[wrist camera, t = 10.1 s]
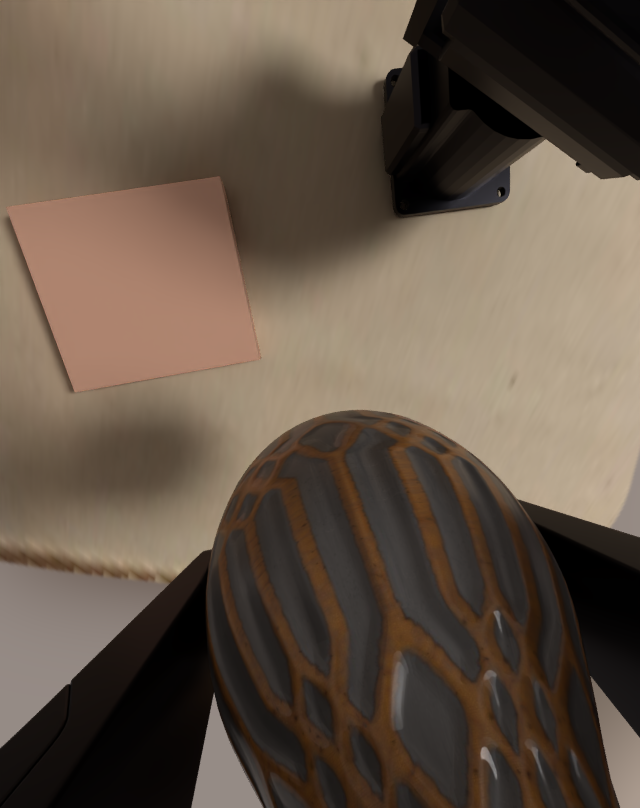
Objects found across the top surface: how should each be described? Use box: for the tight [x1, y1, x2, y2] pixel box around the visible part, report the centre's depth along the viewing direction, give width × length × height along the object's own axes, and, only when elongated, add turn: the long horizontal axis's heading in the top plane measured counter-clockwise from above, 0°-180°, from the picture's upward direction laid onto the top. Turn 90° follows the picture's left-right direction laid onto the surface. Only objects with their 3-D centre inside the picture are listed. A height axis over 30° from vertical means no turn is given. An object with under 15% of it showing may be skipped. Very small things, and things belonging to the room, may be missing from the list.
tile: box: [6, 176, 261, 392], centre depth 17 cm, size 10×2×9 cm
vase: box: [206, 410, 620, 808], centre depth 6 cm, size 7×7×9 cm
